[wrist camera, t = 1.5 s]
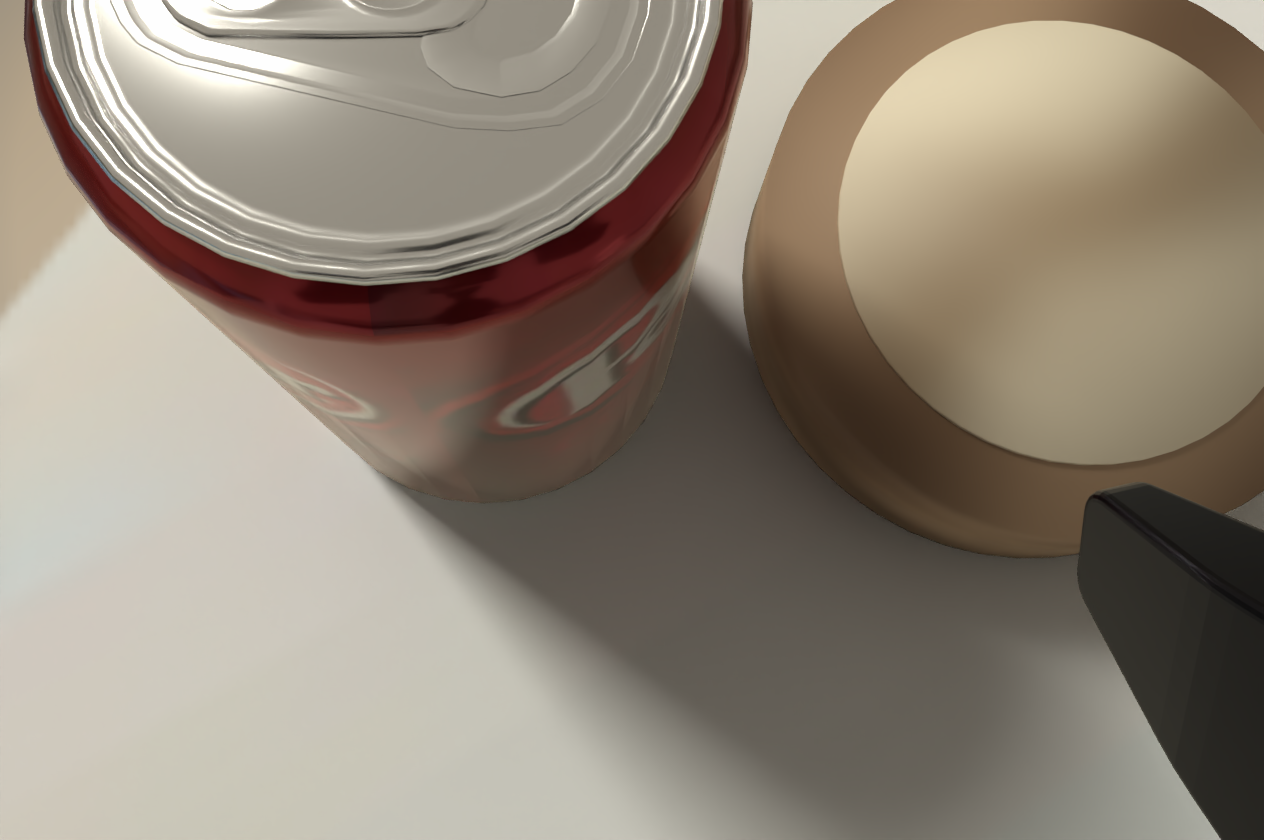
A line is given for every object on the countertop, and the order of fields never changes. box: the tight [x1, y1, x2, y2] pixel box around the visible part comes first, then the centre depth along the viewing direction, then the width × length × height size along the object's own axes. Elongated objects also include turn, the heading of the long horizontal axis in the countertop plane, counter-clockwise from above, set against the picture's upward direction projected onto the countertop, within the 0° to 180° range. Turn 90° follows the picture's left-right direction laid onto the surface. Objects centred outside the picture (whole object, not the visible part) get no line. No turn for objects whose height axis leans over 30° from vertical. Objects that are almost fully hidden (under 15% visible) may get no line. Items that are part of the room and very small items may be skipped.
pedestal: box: [742, 0, 1264, 558], centre depth 21 cm, size 11×11×3 cm
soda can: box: [24, 0, 753, 503], centre depth 16 cm, size 7×7×12 cm
